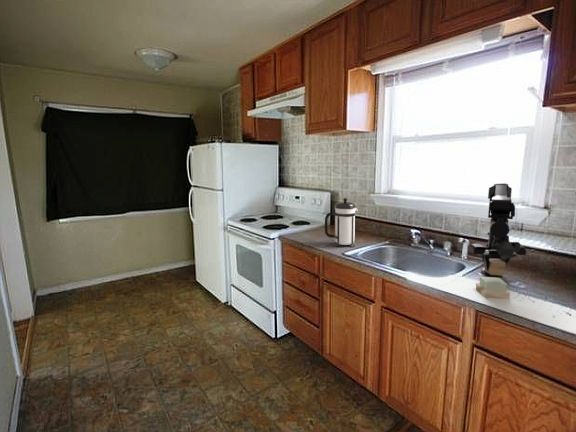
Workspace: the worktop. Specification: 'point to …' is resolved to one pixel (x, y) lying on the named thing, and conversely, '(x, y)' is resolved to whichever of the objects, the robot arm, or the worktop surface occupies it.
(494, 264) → the walnut cube
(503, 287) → the sage top block
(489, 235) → the robot arm
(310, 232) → the worktop surface
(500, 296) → the birch base block
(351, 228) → the coffee press
